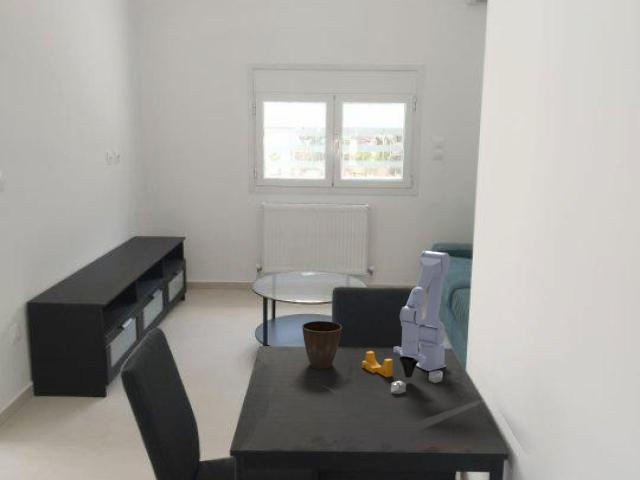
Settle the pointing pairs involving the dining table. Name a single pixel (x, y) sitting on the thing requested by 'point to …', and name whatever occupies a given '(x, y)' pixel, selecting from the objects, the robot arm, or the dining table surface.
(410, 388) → the dining table surface
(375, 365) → the pipe clamp
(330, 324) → the plant pot
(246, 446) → the dining table surface
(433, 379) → the chain ends
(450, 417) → the dining table surface
